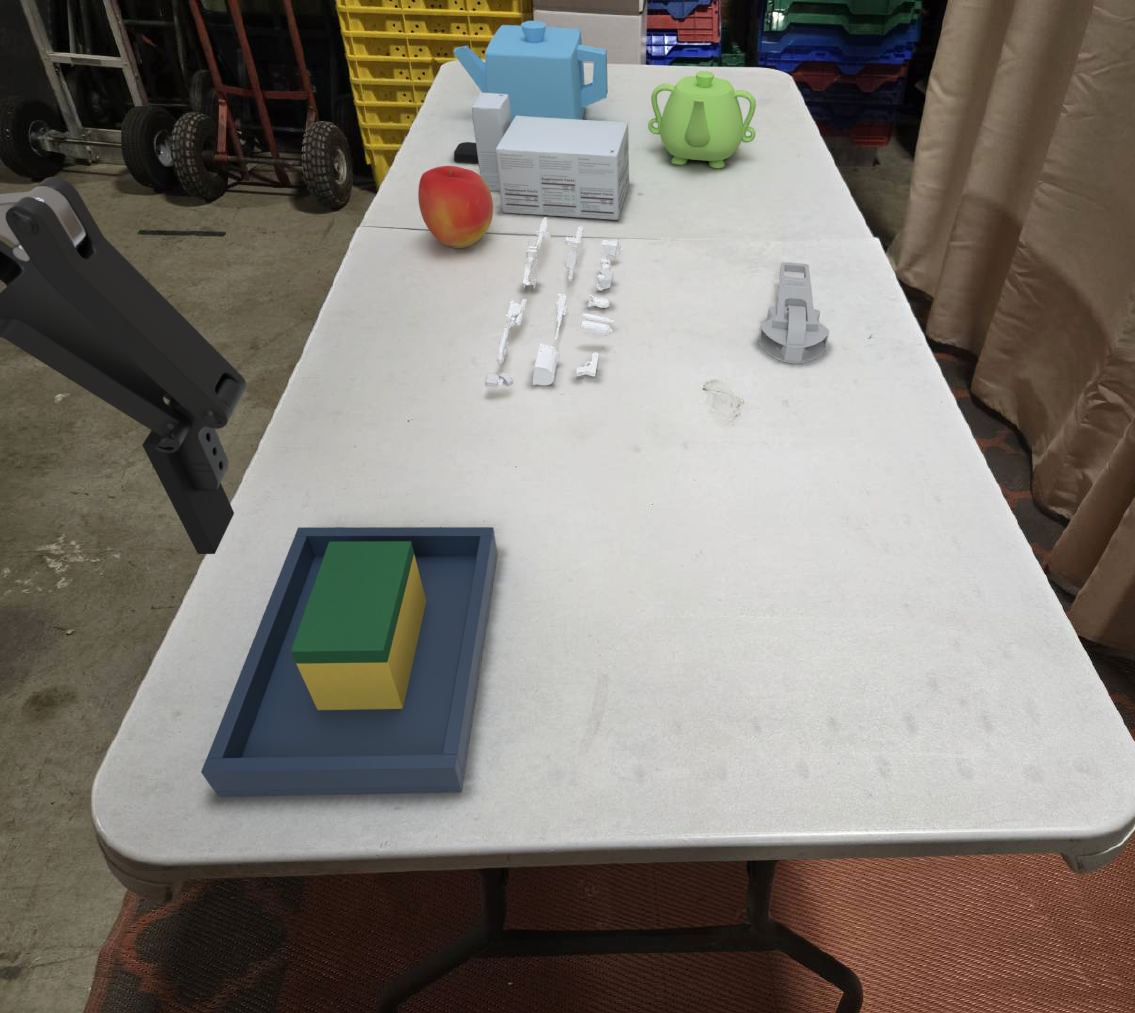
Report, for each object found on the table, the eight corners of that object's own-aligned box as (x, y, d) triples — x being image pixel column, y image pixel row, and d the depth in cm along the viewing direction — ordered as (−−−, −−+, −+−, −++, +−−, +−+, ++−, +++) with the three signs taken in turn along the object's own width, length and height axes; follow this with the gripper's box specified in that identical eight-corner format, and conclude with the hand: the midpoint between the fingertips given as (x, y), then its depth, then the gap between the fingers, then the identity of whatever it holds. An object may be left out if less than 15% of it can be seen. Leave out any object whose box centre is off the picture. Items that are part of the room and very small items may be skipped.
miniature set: (533, 235, 113) (622, 253, 115) (484, 405, 89) (597, 424, 91) (536, 191, 108) (630, 210, 110) (485, 358, 85) (605, 379, 86)
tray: (461, 792, 57) (454, 767, 54) (217, 797, 56) (200, 772, 54) (497, 553, 73) (493, 526, 70) (308, 554, 72) (297, 527, 69)
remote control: (552, 159, 136) (459, 149, 136) (552, 147, 135) (458, 138, 134) (547, 171, 132) (452, 161, 132) (547, 159, 131) (451, 150, 131)
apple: (484, 263, 109) (475, 188, 102) (413, 256, 110) (399, 180, 103) (504, 230, 116) (497, 157, 109) (437, 224, 117) (425, 151, 110)
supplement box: (629, 184, 129) (630, 120, 122) (618, 222, 119) (618, 155, 113) (520, 176, 129) (515, 112, 123) (501, 213, 120) (493, 146, 113)
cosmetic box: (489, 174, 129) (480, 91, 121) (517, 176, 129) (509, 93, 121) (480, 190, 125) (470, 106, 117) (509, 192, 125) (500, 108, 117)
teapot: (766, 168, 136) (776, 84, 127) (692, 184, 130) (697, 97, 121) (711, 134, 145) (717, 54, 137) (640, 147, 140) (641, 64, 131)
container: (603, 144, 140) (601, 42, 129) (453, 136, 140) (438, 33, 129) (611, 108, 152) (610, 12, 142) (472, 101, 152) (461, 4, 141)
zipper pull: (822, 287, 108) (827, 256, 105) (827, 366, 95) (833, 333, 92) (760, 282, 109) (764, 251, 106) (757, 360, 96) (762, 327, 93)
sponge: (403, 709, 60) (383, 650, 55) (317, 710, 60) (290, 651, 55) (426, 601, 68) (411, 540, 63) (350, 601, 67) (328, 541, 62)
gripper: (218, 7, 28) (357, 480, 43) (-599, -23, 26) (-164, 479, 41) (122, 81, 23) (319, 593, 37) (-913, 49, 21) (-282, 596, 36)
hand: (66, 534), depth 39 cm, fingers open, 13 cm apart
